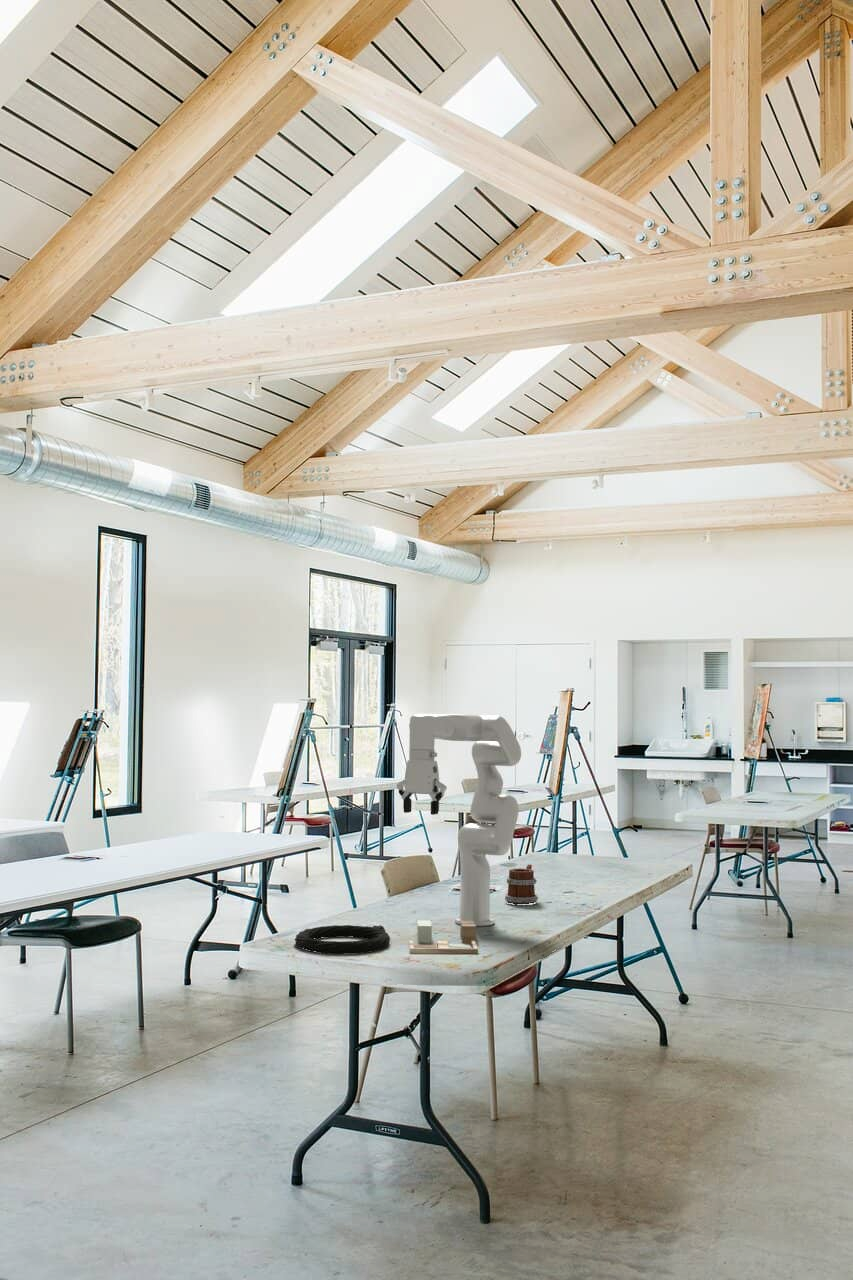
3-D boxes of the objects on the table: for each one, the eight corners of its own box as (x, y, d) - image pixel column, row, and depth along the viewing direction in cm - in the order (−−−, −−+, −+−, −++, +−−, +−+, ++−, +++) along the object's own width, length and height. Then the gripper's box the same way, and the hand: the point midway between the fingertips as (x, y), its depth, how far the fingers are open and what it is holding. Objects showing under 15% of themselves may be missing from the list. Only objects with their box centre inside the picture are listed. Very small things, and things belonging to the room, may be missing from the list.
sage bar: (417, 937, 332) (417, 920, 332) (430, 937, 332) (430, 920, 332) (417, 943, 323) (418, 925, 323) (431, 943, 323) (431, 926, 323)
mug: (498, 904, 390) (501, 861, 394) (512, 905, 403) (515, 863, 406) (529, 906, 385) (532, 863, 389) (543, 908, 398) (545, 865, 401)
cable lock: (274, 932, 318) (349, 919, 340) (274, 946, 318) (349, 931, 340) (341, 946, 300) (415, 931, 322) (341, 961, 300) (415, 944, 322)
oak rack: (409, 943, 321) (409, 939, 322) (474, 944, 322) (474, 939, 322) (410, 953, 308) (410, 948, 309) (477, 953, 309) (477, 949, 309)
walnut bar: (460, 937, 332) (460, 920, 333) (473, 937, 332) (473, 920, 333) (462, 943, 323) (462, 926, 324) (475, 943, 323) (475, 926, 324)
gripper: (452, 756, 330) (452, 814, 328) (405, 754, 339) (404, 811, 338) (439, 757, 323) (438, 815, 322) (390, 755, 333) (390, 812, 332)
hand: (420, 813), depth 330 cm, fingers open, 9 cm apart
